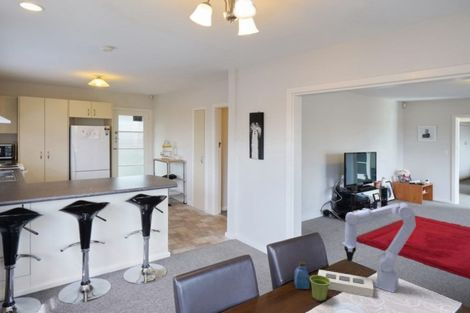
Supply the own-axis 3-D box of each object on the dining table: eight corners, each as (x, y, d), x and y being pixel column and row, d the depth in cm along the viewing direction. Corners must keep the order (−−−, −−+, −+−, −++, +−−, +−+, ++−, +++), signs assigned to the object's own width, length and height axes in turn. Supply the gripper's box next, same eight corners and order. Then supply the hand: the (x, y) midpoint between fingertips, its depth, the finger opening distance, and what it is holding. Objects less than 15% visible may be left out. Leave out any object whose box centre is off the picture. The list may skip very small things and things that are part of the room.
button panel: (371, 286, 155) (371, 278, 155) (373, 297, 144) (373, 289, 143) (318, 276, 164) (319, 269, 164) (316, 286, 153) (316, 279, 153)
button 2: (362, 287, 153) (362, 279, 153) (362, 291, 149) (363, 283, 149) (353, 285, 154) (353, 277, 154) (353, 289, 150) (353, 281, 150)
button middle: (348, 284, 155) (349, 277, 155) (348, 288, 151) (349, 280, 151) (339, 283, 157) (340, 275, 156) (339, 286, 153) (339, 279, 152)
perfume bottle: (309, 289, 151) (309, 265, 150) (296, 288, 151) (297, 265, 150) (306, 283, 157) (307, 260, 156) (294, 282, 157) (295, 260, 156)
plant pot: (330, 294, 146) (330, 277, 145) (329, 304, 137) (330, 286, 136) (310, 291, 149) (310, 273, 148) (308, 300, 140) (308, 282, 139)
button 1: (335, 282, 157) (335, 274, 157) (335, 286, 153) (335, 278, 153) (326, 280, 159) (326, 273, 159) (325, 284, 155) (326, 276, 155)
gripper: (342, 230, 168) (341, 254, 169) (342, 238, 155) (341, 264, 155) (356, 232, 166) (355, 256, 166) (357, 240, 152) (356, 266, 153)
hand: (349, 260), depth 161 cm, fingers closed
